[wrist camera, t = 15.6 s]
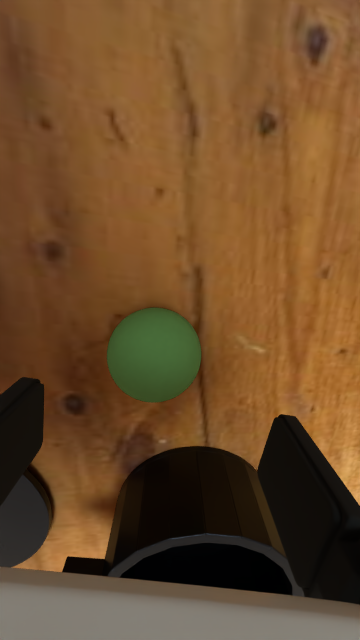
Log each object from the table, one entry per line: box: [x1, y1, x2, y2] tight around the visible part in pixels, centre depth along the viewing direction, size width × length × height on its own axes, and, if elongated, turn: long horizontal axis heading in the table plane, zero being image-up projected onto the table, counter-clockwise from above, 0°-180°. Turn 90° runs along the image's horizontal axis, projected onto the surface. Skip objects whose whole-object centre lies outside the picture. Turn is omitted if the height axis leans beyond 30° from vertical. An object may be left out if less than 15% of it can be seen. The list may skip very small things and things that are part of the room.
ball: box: [107, 308, 201, 402], centre depth 16 cm, size 6×6×6 cm
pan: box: [62, 447, 305, 597], centre depth 20 cm, size 15×20×7 cm
